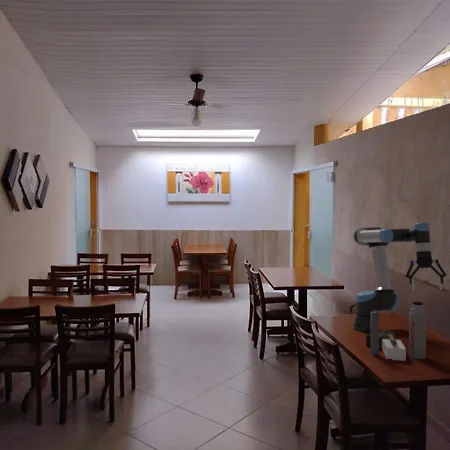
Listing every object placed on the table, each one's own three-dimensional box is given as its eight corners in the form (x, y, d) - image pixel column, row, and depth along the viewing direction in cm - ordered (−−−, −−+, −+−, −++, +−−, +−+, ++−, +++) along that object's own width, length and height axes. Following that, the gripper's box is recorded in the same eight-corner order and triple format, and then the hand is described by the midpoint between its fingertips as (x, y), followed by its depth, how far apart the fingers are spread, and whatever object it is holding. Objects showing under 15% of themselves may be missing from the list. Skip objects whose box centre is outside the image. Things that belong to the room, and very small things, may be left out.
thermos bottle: (413, 359, 226) (414, 304, 225) (406, 354, 234) (406, 300, 233) (428, 358, 227) (429, 303, 226) (420, 353, 235) (421, 300, 234)
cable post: (370, 352, 237) (370, 311, 236) (377, 353, 236) (378, 311, 235) (370, 355, 233) (371, 313, 232) (379, 355, 232) (379, 313, 231)
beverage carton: (396, 342, 255) (396, 330, 255) (378, 349, 243) (378, 337, 243) (383, 339, 261) (383, 328, 261) (365, 346, 249) (365, 334, 249)
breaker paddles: (389, 340, 238) (387, 334, 238) (393, 338, 237) (391, 333, 237) (392, 345, 228) (390, 340, 228) (397, 344, 228) (395, 338, 228)
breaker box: (382, 350, 241) (382, 339, 241) (400, 351, 239) (400, 339, 239) (386, 359, 226) (386, 347, 226) (405, 360, 225) (405, 348, 224)
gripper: (398, 252, 248) (401, 290, 246) (448, 249, 236) (452, 290, 233) (400, 252, 255) (403, 290, 253) (449, 249, 242) (453, 289, 240)
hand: (427, 290), depth 243 cm, fingers open, 13 cm apart
